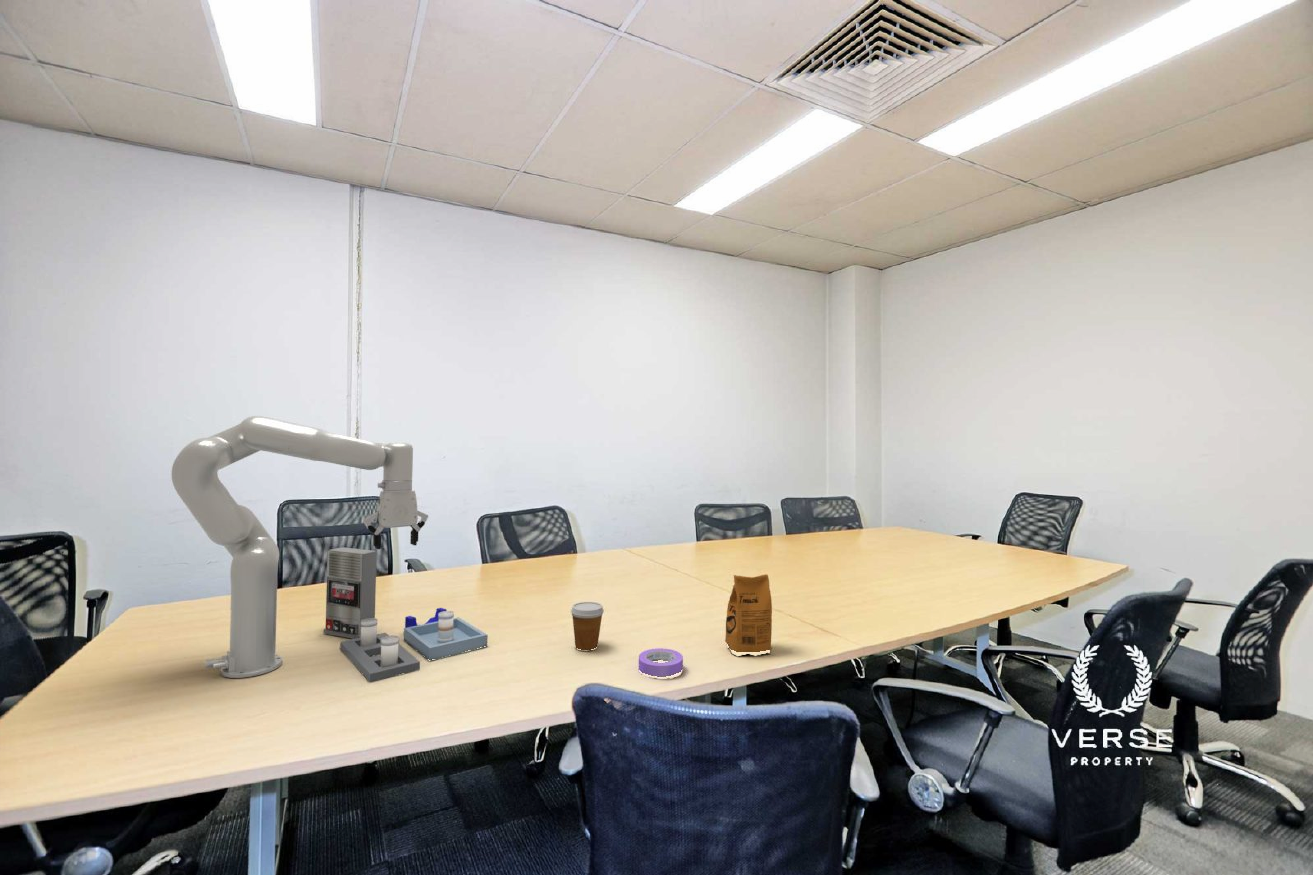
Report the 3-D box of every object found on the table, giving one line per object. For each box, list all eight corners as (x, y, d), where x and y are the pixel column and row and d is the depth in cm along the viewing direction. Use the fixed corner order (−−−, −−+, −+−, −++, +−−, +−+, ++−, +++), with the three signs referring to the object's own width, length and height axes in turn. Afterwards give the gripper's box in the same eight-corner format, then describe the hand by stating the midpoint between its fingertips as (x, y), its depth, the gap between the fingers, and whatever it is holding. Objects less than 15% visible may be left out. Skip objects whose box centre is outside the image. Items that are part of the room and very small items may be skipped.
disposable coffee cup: (563, 649, 160) (564, 607, 160) (582, 639, 168) (583, 599, 168) (590, 656, 155) (591, 613, 155) (609, 645, 164) (610, 604, 164)
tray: (429, 661, 149) (429, 648, 149) (403, 640, 164) (403, 628, 164) (487, 647, 160) (487, 634, 160) (458, 628, 175) (458, 617, 175)
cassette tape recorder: (322, 634, 167) (324, 550, 167) (340, 628, 173) (342, 547, 173) (358, 640, 163) (360, 554, 163) (375, 634, 168) (377, 551, 168)
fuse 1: (362, 653, 154) (363, 623, 154) (357, 648, 157) (358, 620, 157) (378, 649, 156) (379, 620, 156) (374, 645, 160) (374, 617, 160)
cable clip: (437, 625, 178) (437, 606, 178) (446, 628, 175) (446, 609, 175) (401, 636, 168) (402, 615, 168) (410, 639, 165) (411, 618, 165)
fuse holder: (369, 682, 136) (370, 674, 136) (340, 648, 156) (340, 641, 156) (419, 669, 144) (419, 661, 144) (385, 639, 164) (385, 632, 164)
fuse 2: (382, 674, 140) (383, 642, 140) (377, 669, 143) (378, 637, 143) (400, 670, 143) (401, 638, 143) (395, 665, 146) (395, 634, 146)
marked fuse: (441, 644, 159) (441, 616, 159) (435, 640, 162) (436, 612, 162) (455, 641, 162) (456, 613, 162) (449, 637, 165) (450, 610, 165)
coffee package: (722, 645, 166) (723, 571, 166) (761, 643, 169) (763, 570, 169) (732, 658, 157) (734, 579, 157) (774, 656, 159) (776, 578, 159)
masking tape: (644, 682, 140) (644, 667, 140) (633, 664, 151) (634, 649, 151) (688, 678, 143) (689, 663, 143) (675, 660, 155) (675, 646, 155)
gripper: (368, 488, 151) (366, 552, 151) (433, 486, 162) (431, 545, 162) (360, 486, 156) (358, 547, 156) (423, 484, 168) (422, 541, 168)
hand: (396, 546), depth 159 cm, fingers open, 9 cm apart
